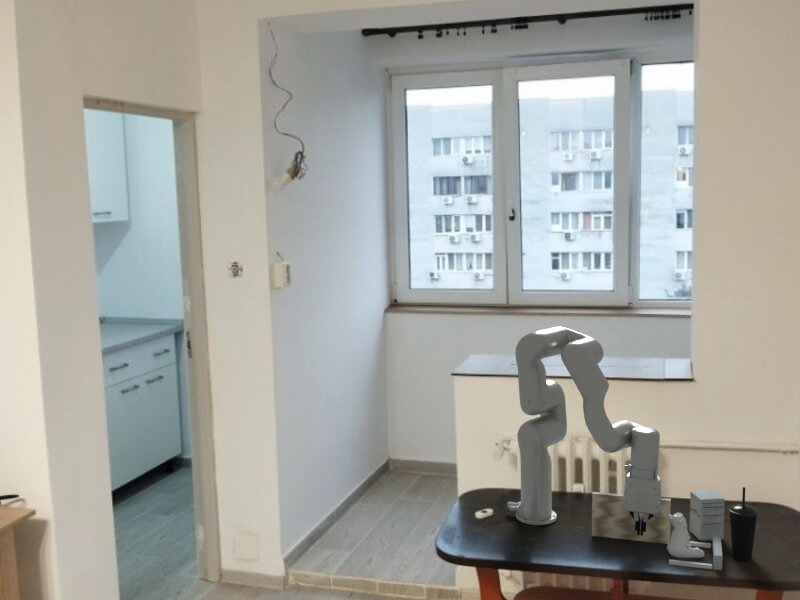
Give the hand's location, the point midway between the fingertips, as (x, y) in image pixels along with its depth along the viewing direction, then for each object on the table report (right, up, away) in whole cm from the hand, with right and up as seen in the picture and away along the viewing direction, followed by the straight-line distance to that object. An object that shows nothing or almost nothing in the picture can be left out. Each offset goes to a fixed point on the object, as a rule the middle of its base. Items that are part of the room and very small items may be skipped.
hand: (640, 533), depth 238 cm
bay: (+13, -5, -4) cm, 15 cm away
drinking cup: (+27, -5, -6) cm, 28 cm away
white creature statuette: (+11, -5, -3) cm, 12 cm away
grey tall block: (+22, -3, +10) cm, 24 cm away
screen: (0, -4, +10) cm, 11 cm away
